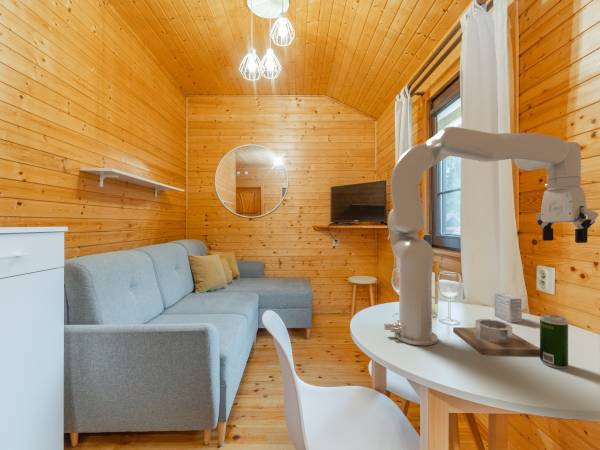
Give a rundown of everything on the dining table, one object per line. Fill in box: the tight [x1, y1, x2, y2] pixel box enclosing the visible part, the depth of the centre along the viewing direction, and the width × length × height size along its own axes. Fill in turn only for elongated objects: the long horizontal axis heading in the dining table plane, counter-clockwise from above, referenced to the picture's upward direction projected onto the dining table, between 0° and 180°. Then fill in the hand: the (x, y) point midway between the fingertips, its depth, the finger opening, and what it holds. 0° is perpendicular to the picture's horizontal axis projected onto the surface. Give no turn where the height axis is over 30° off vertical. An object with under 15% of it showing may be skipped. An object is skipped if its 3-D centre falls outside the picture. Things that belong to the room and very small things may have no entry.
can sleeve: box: [475, 318, 513, 344], centre depth 86 cm, size 9×9×4 cm
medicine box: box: [494, 293, 523, 324], centre depth 106 cm, size 8×4×9 cm, turn 3°
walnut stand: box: [452, 326, 540, 356], centre depth 86 cm, size 16×16×2 cm
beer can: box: [539, 313, 569, 370], centre depth 73 cm, size 5×5×12 cm
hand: (563, 241), depth 86 cm, fingers open, 9 cm apart
